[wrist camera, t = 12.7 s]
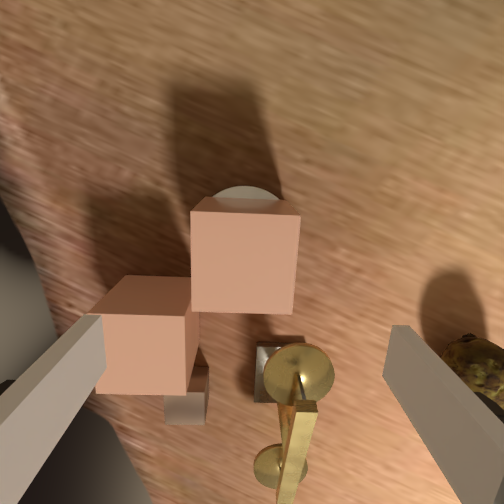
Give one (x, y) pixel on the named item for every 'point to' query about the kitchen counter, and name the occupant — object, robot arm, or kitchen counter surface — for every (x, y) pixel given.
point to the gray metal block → (189, 401)
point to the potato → (478, 365)
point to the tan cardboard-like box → (148, 336)
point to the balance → (289, 409)
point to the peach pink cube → (243, 255)
